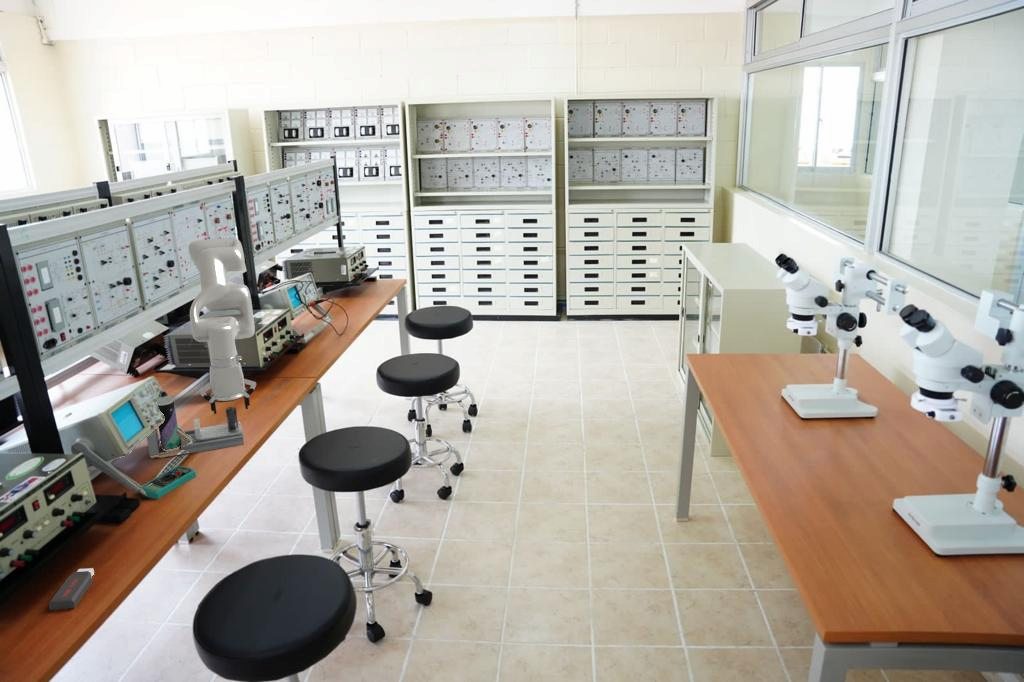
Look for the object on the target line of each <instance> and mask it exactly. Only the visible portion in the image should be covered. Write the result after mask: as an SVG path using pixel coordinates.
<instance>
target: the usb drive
mask: <svg viewBox="0 0 1024 682" xmlns="http://www.w3.org/2000/svg"><path fill="white" fill-rule="evenodd" d="M94 573H95V570H94V567H90V568H79V569H77V571H74V572H72V573H71V575H69V576H68V577H67V578H66V580H65V581H64V582H63V583H62V585H61V586H60V587H59V589H58V590H57V592H56V593H55V594H54V596H53V597H52V599H51V600H50V602H49V603H48V609H49V611H60V610H59V609H64V610H69V609H68V608H75V606H76V605H77V604H78V605H79V603H80V602H81V601H80V599H81V598H82V596H83V595H84V593H85V592H86V590H87V589H88V588H89V589H90V587H91V586H92V585H93V583H94V581H93V577H94V576H95V574H94ZM93 575H94V576H93ZM92 576H93V577H92ZM92 582H93V583H92ZM90 585H91V586H90ZM89 586H90V587H89ZM89 589H88V590H89ZM88 590H87V591H88ZM86 593H87V592H86ZM86 593H85V594H86ZM84 596H85V595H84ZM84 596H83V597H84ZM82 599H83V598H82ZM82 599H81V600H82ZM79 601H80V602H79ZM78 602H79V603H78ZM78 605H77V606H78ZM77 606H76V607H77ZM75 609H76V608H75Z"/></svg>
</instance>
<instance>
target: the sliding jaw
mask: <svg viewBox="0 0 1024 682" xmlns="http://www.w3.org/2000/svg"><path fill="white" fill-rule="evenodd" d="M225 415H226V416H225V417H226V420H227V421H226V423H223V424H217V425H211V426H210V425H209V426H205V427H204V426H203V427H201V425H200V418H193V426H194V427H193V429H194V430H195V437H196V443H200V442H206V441H212V440H218V439H224V438H230V437H236V436H242V435H243V428H242V423H241V421H239V420H238V413H237V407H236V406H229V407H226V408H225ZM243 436H244V435H243Z"/></svg>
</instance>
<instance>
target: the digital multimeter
mask: <svg viewBox="0 0 1024 682" xmlns="http://www.w3.org/2000/svg"><path fill="white" fill-rule="evenodd" d="M196 477H197V472H196V470H194V469H193V468H190V467H187V466H185V465H177V466H175V467H173V468H171V469H170V470H168V471H166V472H164V473H163V474H161V475H159V476H156V478H153V479H152V480H150V481H148V482H146V483H144V484H143V485H140V487H142V488H143V489H144V491H145V492H146V494H147V497H146V498H150V499H154V500H159V499H160V498H163V497H164V496H166V495H167V494H169V493H170V492H172V491H173V490H176V489H177V488H178V487H180V486H182V485H183V484H185V483H187V482H189V481H191V480H192V479H194V478H196ZM151 483H153V486H152V487H149V485H150V484H151Z"/></svg>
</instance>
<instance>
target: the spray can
mask: <svg viewBox="0 0 1024 682" xmlns="http://www.w3.org/2000/svg"><path fill="white" fill-rule="evenodd" d="M157 397H158V398H157ZM157 397H156V398H157V401H156V402H157V405H158V407H159V409H160V411H161V412H162V413H163V414H164V416H165V421H164V423H163V424H161V425H160V426H159V427H158V434H159V438H160V439H161V443H160V446H161V449H162V448H163V449H165V450H169V449H174V448H177V447H179V446H180V445H181V440H180V437H179V436H178V435H177V433H176V430H179V425H178V419H177V413H176V412H177V411H176V406H175V399H174V396H172V395H169V394H168V393H167V391H165V390H160V391H159V395H158V396H157Z"/></svg>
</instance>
